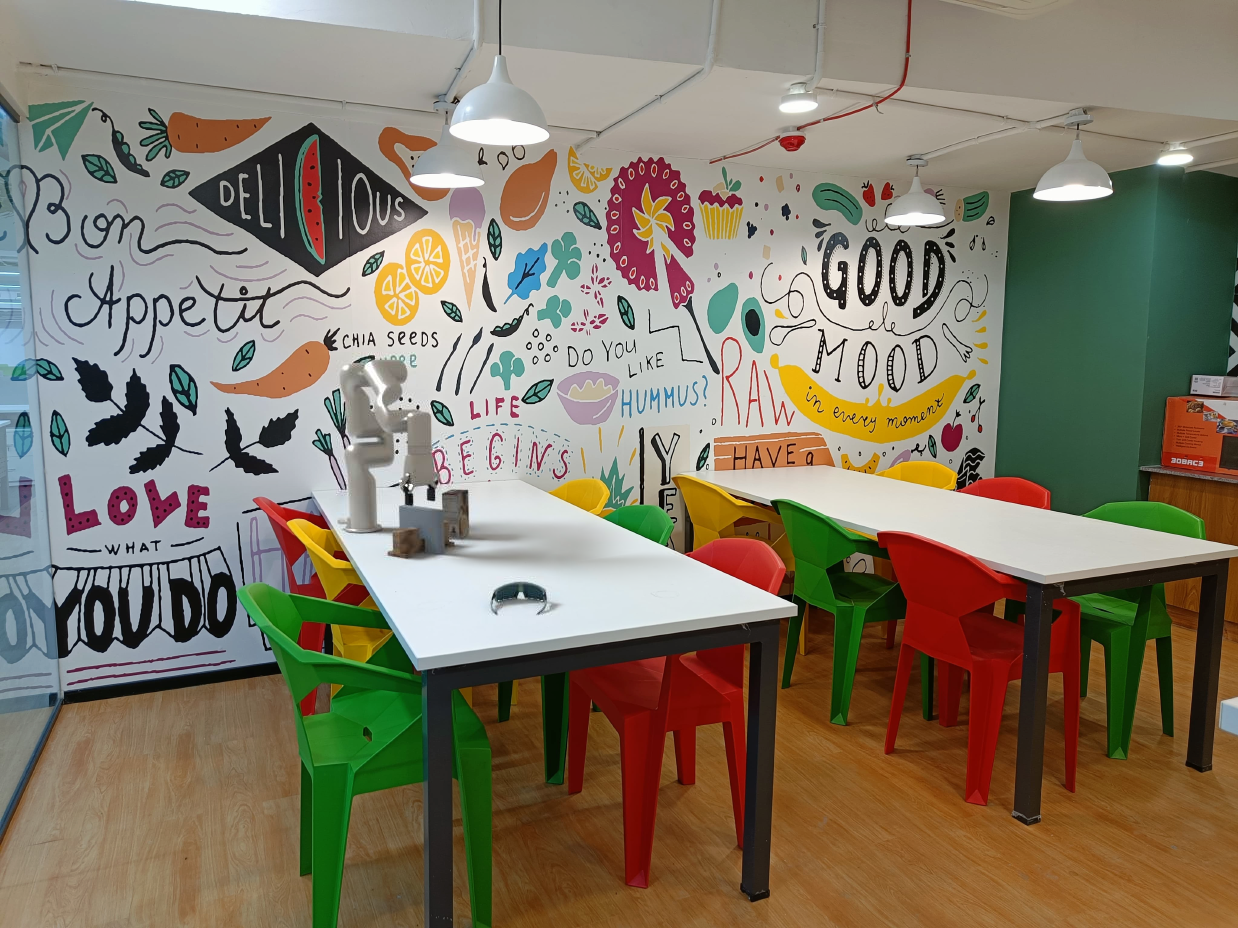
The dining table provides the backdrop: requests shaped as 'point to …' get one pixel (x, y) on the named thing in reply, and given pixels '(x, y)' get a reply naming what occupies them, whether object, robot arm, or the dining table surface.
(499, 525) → the dining table surface
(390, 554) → the slotted base board
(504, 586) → the sunglasses
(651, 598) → the dining table surface
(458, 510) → the coffee box
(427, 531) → the slate grey plank
